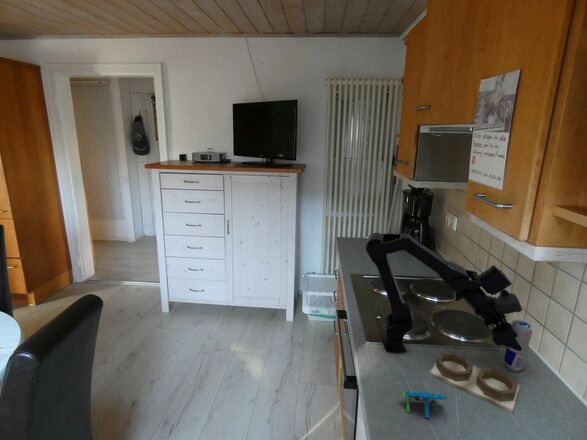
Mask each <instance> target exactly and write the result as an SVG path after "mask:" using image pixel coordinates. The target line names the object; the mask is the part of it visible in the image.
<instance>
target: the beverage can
mask: <svg viewBox="0 0 587 440" xmlns="http://www.w3.org/2000/svg"><path fill="white" fill-rule="evenodd" d="M511 325H512V326H513V327H514V328H515V330H516V332H517V334H518V336H517V337H516V340H517V341H518V343H519V344H520V346H521V348H522V350H521V351H517V350H515V349H512V348H510V347H507V346H506V349H505V354H504V359H503V364H504V365H505V366H506V368H507V369H508V370H510V371H512V372H520V371H522V370H524V366H525V362H526V359H527V358H526V357H527V354H528V349H529V346H530V341H531V337H532V333H533V325H532V324H531V323H530V322H528V321H526V320H521V319H513V320H512V322H511Z"/></svg>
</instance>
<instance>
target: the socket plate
mask: <svg viewBox="0 0 587 440" xmlns="http://www.w3.org/2000/svg"><path fill="white" fill-rule="evenodd" d="M429 376H431V377H433V378H434V379H435V378H436V379H438V380H439V381H442V382H444V383H447V384H449V385H450V386H452V387H454V388H457V389H459V390H461V391H463V392H466V393H468V394H470V395H472V396H474V397H477V398H478V399H481V400H482V401H484V402H488V403H489V404H492V405H494V406H495V407H498V408H500V409H503V410H504V411H507V412H508V413H511V414H513V412H514V408H515V405H516V401H517V397H518V394H519V391H520V388H521V384H519V383H517V382H516V381H515V380H514V379H513V378H512V377H511V376H510V375H509V374H508V373H505V372H503V371H501V370H498V369H496V368H480V367H477V366H474V365H473V364H472V363H471V362H470V360H469V359H468V358H467V356H463V355H461V354H459V353H456V352H454V351H450V352H449V351H447V352H440V353H439V355H438V357H437V358H436V362H435V364H434V365H433V367H432V368H431V369H430V372H429Z"/></svg>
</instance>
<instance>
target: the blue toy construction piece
mask: <svg viewBox="0 0 587 440" xmlns="http://www.w3.org/2000/svg"><path fill="white" fill-rule="evenodd" d="M401 397H402V398H404V402H406V412H408V413H410V412H411V409H410V407H411V405H410V402H411V403H417V404H423V406H424V418H430V406H429V405H430V403H431V401H430V400H439V401H440V400H441V401H448V396H446V395H442V394H441V395H439V394H438V393H433V394H432V393H429V391H426V390H424V391H423V392H419V391H405V390H404V391H403V390H401ZM415 398H421V399H422V400H415ZM413 399H414V400H413Z"/></svg>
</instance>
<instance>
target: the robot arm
mask: <svg viewBox="0 0 587 440" xmlns="http://www.w3.org/2000/svg"><path fill="white" fill-rule="evenodd" d="M365 251H366V253H367V255H368V257H369V258H370V260H371V261H372V263H373V264H374V265H375V267H377V270H378V274H379V276H380V279H381V282H382V284H383V287H384V290H385V293H386V295H387V298H388V301H389V304H390V308H391V309H390V310H391V313H389V314H388V315H387V316H386V321H385V324H386V326H385V335H384V337H385V338H381V343H382V346H383V347H384V350H385V351H386V353H406V352H407V348H406V346H405V345H404V338H405V336H406V334H407V333H408V332H410V331H411V330H412V329H413V323H415V315H414V310H413V308H412V307H411V301H410V300H409V301H405V300H404V299H403V296H402V294H401V291H400V288H399V285H398V282H397V280H396V277H395V274H394V271H393V268H392V266H391V263H390V259H389V254H393V253H396V252H399V251H405V252H406V253H407V254H410V255H411V256H412V257H414V258H416V260H418V261H419V262H421V263H422V264H424V265H425V266H426V267H428V268H429V269H431V270H432V271H434V272H435V273H436V274H437V275H438V276H439V277H440V278H441V280H442V281H443V282H444V283H445V284H446V285H447V286H448V287H449V288H450V289H451V290H453V291H454V293H453V297H454V300H455V302H459V301H460V300H462V299H463V300H464V301H465V302H466V304H467V305H468V306H470V307H471V309H472V310H473V311H474V314H475V316H477V317H479V318H481V319H482V320H483V323H484V325H485V326H486V327H488V326H494V325H495V327H494V328H491V329H490V331H489V335H490V338H491V340H492V342H493V343H494V344H495V345H496V347H497V346H498V347H500V346H505V347H506V348H507V347H510V348H512V349H515V350H517V351H521V350H522V348H521V346H520V344H519V343H518V341H517V340H516V337H517V336H518V334H517V332H516V330H515V328H514V327H513V326H512V323H510V322H508V320H507V315H508V314H513V313H521V312H522V311H523V308H522V305H521V302H520V300H519V298H518V297H517V295H516V294H515V293H513V292H511V293H510V291H508V290H507V288H509V287H510V286H512V285H513V283H512V281H511V280H510V279H509V277H508V276H507V275H506V274H505V273H504V271H502V269H499V267H497V266H496V265H495V264H493V265H491V266H490V267H489V268H488V269H486V270H485V271H484V272H481V273H479V274H478V272H477V271H475V270H469V269H466V268H465V267H464V266H461V265H459V264H457V263H455V262H454V261H449V260H446V259H444V258H442V257H441V256H439V255H438V254H436V252H433V251H432V250H431V249H430V248H428V247H427V246H425V245H424V244H422V243H421V242H419V241H418V240H417V239H415V238H413V237H412V236H411V234H409V233H407V232H406V233H389V232H388V233H380V232H373V233H371V234H370V235H369V236H368V238H367V241H366V245H365ZM487 294H488V295H487ZM489 294H490V295H489ZM497 294H499V295H498V296H497V297H495V295H497ZM493 295H494V296H493Z"/></svg>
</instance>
